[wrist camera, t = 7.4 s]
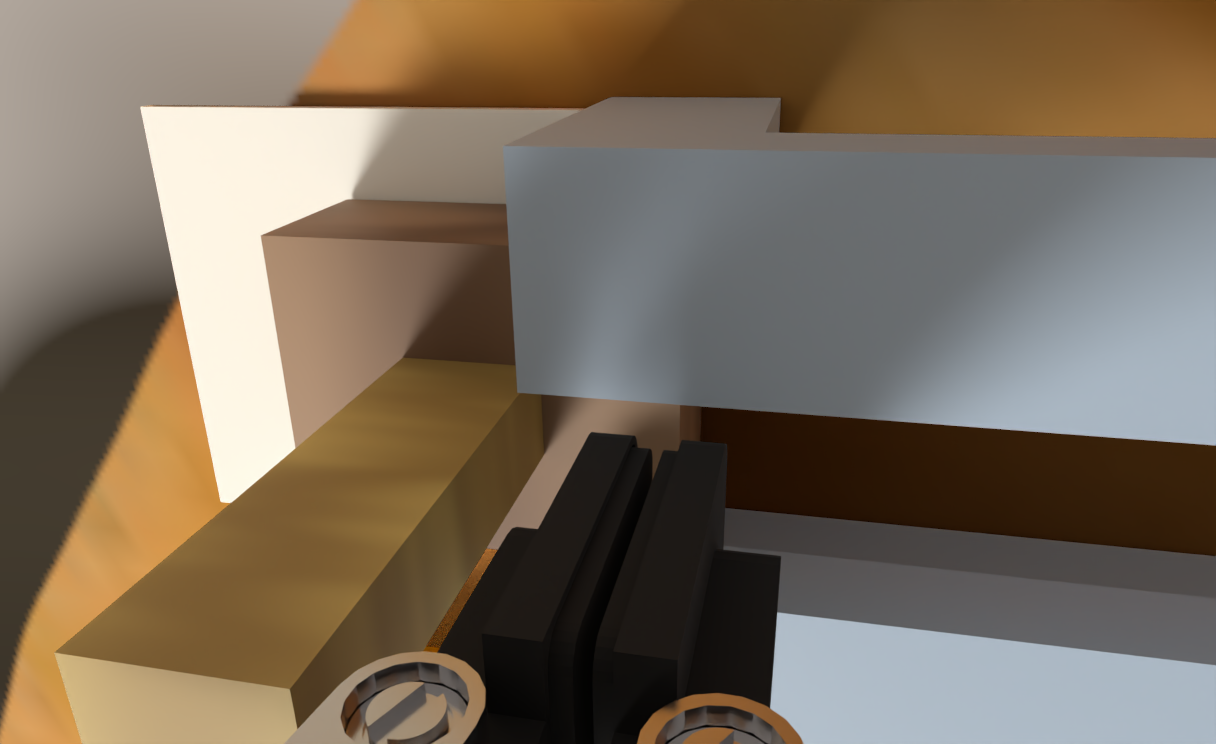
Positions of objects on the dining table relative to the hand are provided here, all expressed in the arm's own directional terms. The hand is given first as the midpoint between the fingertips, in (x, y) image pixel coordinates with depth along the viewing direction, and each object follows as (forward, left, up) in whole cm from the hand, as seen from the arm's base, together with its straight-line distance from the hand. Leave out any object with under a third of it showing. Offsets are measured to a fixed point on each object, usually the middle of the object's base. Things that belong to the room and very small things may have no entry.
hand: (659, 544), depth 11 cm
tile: (+7, 0, -7) cm, 10 cm away
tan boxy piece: (+4, 0, -7) cm, 8 cm away
